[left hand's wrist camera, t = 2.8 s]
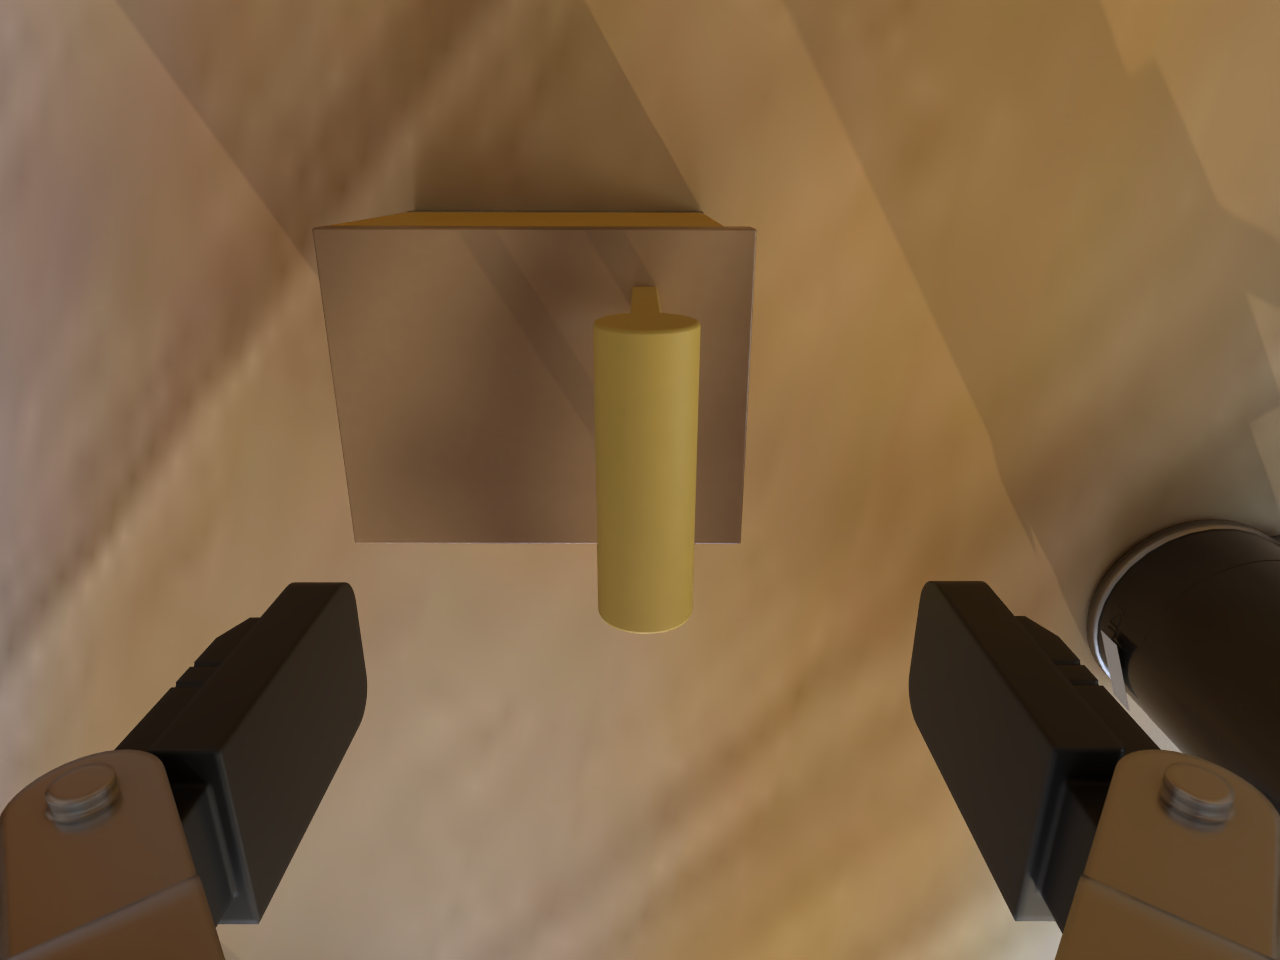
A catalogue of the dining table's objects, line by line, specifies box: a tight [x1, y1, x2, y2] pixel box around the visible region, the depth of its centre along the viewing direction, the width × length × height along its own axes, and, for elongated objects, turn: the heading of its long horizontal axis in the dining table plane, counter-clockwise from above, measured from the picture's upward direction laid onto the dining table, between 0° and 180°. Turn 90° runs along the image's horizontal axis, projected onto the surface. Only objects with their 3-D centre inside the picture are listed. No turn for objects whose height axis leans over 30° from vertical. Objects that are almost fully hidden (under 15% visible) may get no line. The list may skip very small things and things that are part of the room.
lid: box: [313, 226, 757, 634], centre depth 20 cm, size 12×10×9 cm
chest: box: [330, 211, 724, 227], centre depth 29 cm, size 11×10×10 cm
